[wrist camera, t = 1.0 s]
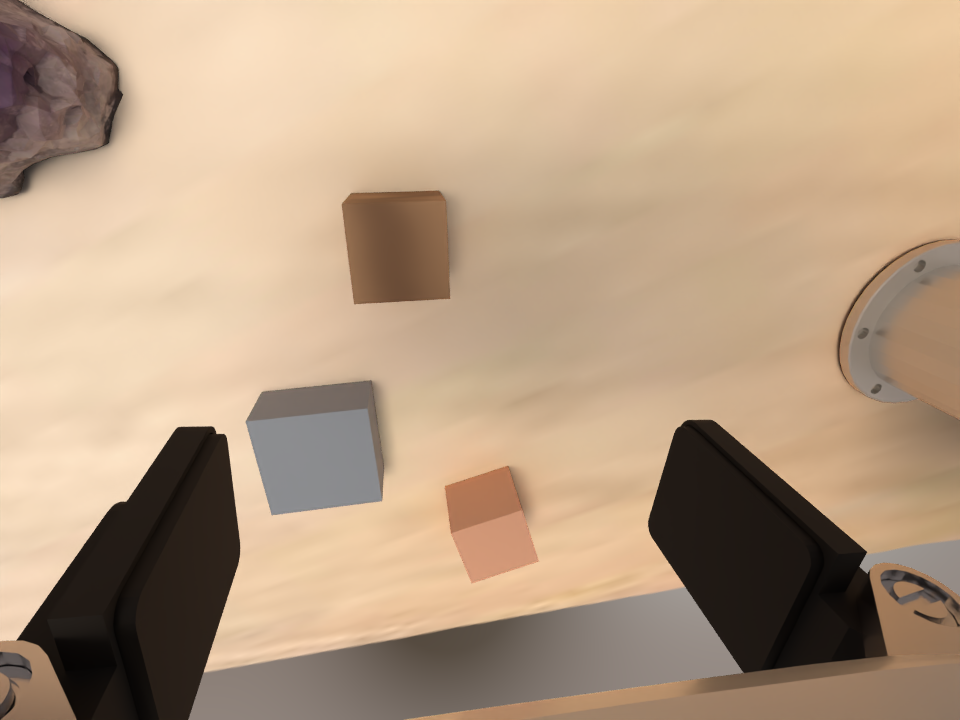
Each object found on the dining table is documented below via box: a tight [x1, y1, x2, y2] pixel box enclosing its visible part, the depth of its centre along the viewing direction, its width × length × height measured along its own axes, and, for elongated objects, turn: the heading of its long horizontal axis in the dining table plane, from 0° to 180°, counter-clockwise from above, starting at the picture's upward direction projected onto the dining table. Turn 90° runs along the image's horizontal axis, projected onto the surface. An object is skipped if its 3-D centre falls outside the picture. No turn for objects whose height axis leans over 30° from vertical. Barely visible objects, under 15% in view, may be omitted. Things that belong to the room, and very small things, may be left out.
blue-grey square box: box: [246, 381, 384, 515], centre depth 33 cm, size 7×7×4 cm
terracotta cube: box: [445, 466, 538, 583], centre depth 36 cm, size 5×5×5 cm
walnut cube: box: [342, 191, 450, 304], centre depth 27 cm, size 5×5×5 cm
